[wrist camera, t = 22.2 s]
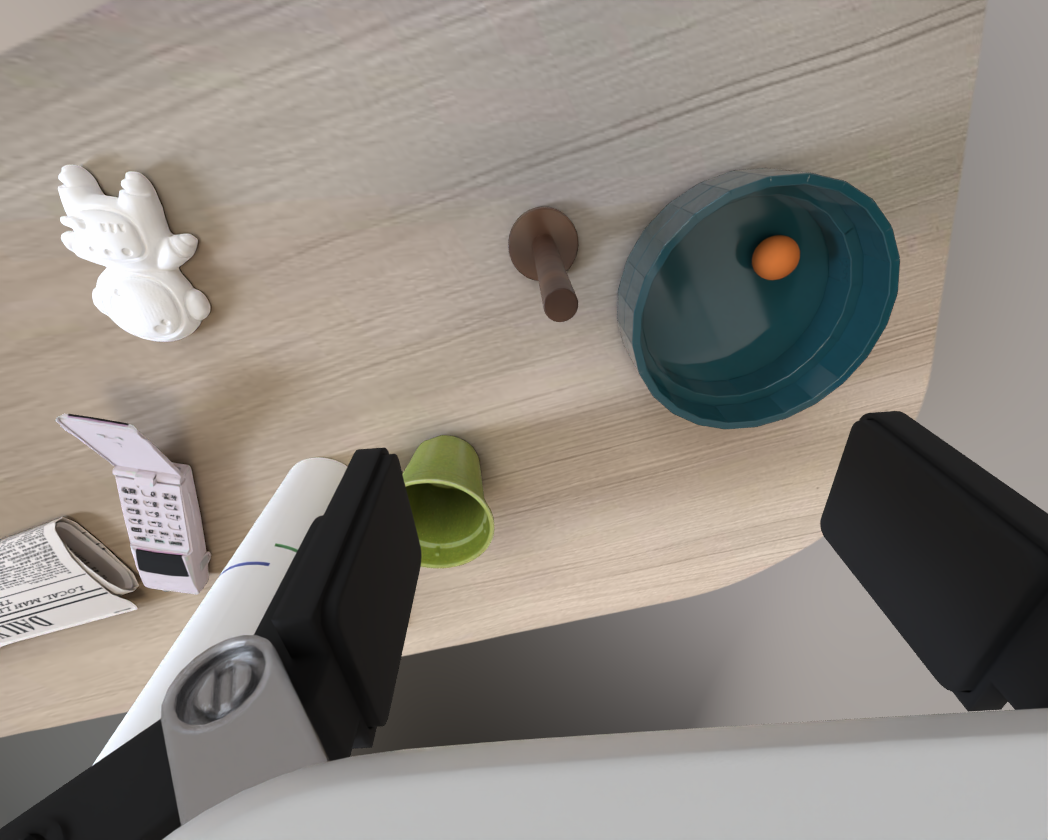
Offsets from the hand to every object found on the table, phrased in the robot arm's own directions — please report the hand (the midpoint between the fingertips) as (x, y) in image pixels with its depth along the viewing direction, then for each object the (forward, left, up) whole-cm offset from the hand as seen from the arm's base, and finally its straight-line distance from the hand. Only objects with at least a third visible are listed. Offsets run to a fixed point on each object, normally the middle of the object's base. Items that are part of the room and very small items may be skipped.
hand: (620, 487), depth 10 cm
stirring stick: (0, 0, -28) cm, 28 cm away
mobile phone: (+21, -37, -28) cm, 51 cm away
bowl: (+5, +14, -28) cm, 32 cm away
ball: (+2, +16, -26) cm, 31 cm away
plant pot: (+19, -10, -28) cm, 36 cm away
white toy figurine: (-1, -29, -28) cm, 41 cm away
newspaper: (+33, -63, -28) cm, 77 cm away
